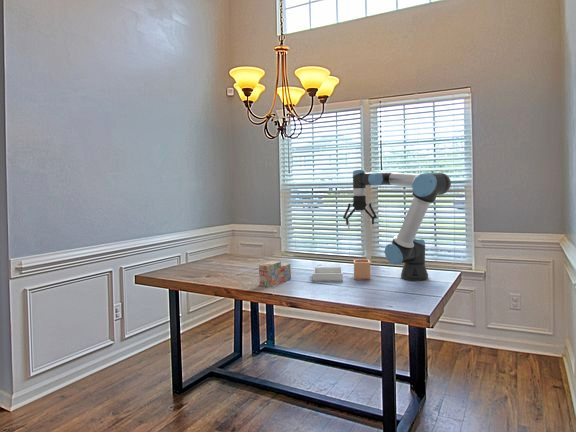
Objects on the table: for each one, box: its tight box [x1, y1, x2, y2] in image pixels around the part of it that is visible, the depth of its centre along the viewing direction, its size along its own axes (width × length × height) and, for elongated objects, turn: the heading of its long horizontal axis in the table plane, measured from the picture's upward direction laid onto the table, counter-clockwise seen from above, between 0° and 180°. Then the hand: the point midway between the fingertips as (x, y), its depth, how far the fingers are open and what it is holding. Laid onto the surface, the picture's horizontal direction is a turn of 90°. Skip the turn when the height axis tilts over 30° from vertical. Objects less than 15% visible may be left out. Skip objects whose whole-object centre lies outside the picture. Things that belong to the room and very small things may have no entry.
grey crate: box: [312, 266, 344, 283], centre depth 246 cm, size 17×17×4 cm
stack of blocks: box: [258, 260, 292, 288], centre depth 239 cm, size 21×6×12 cm, turn 143°
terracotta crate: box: [353, 258, 371, 281], centre depth 243 cm, size 9×9×10 cm
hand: (360, 229), depth 254 cm, fingers open, 13 cm apart
